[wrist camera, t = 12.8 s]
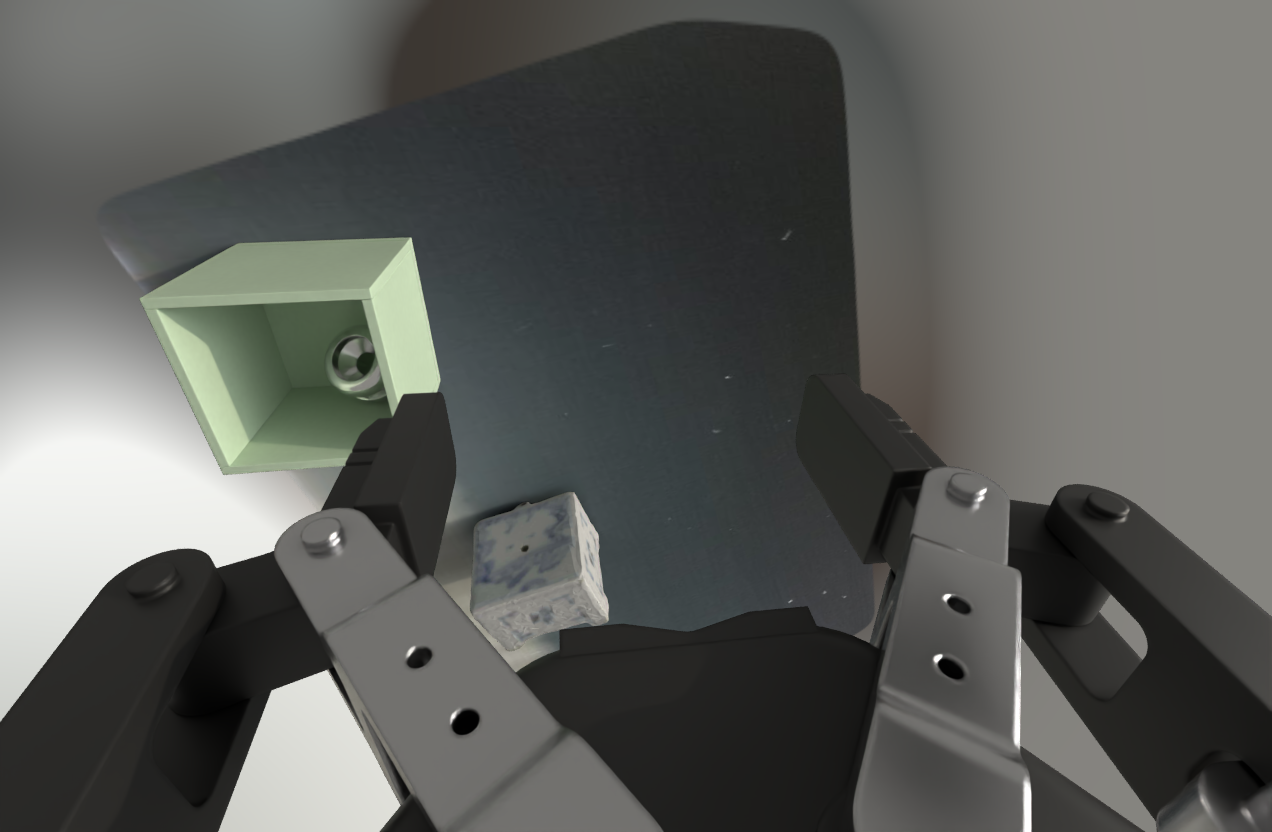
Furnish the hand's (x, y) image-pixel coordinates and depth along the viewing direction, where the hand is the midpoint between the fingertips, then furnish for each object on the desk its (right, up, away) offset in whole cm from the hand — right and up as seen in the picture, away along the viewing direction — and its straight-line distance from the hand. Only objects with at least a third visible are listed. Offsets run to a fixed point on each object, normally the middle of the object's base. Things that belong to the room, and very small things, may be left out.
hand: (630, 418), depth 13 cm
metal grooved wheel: (-20, +6, +27) cm, 34 cm away
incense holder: (-9, -11, +42) cm, 44 cm away
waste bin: (-21, +7, +29) cm, 36 cm away
